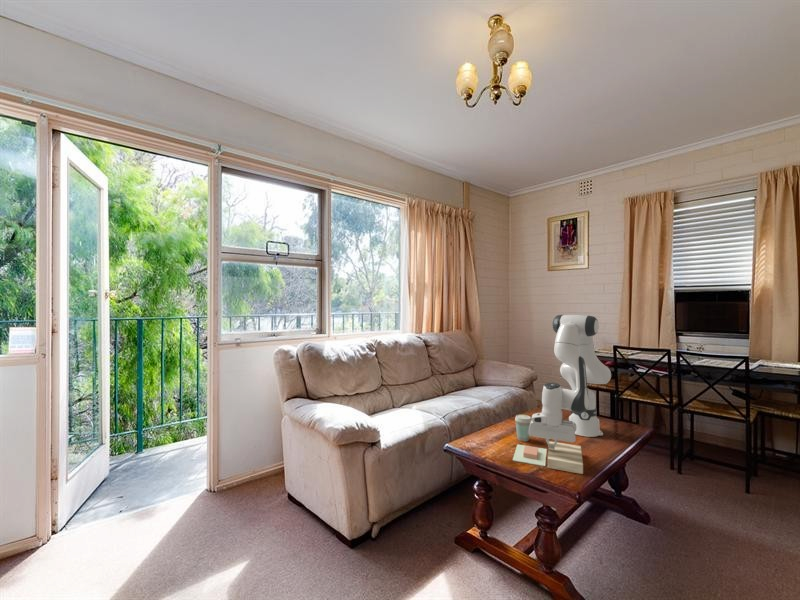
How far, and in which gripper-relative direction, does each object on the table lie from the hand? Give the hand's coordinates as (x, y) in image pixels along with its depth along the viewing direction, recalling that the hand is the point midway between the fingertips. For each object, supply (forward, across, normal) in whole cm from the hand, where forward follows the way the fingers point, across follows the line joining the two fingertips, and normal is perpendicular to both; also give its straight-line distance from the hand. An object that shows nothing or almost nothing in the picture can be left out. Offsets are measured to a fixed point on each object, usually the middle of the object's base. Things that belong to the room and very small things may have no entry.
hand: (551, 448), depth 173 cm
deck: (+5, -6, 0) cm, 7 cm away
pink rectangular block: (+2, +9, +1) cm, 9 cm away
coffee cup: (+5, +15, -18) cm, 24 cm away
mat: (+5, +9, 0) cm, 10 cm away
